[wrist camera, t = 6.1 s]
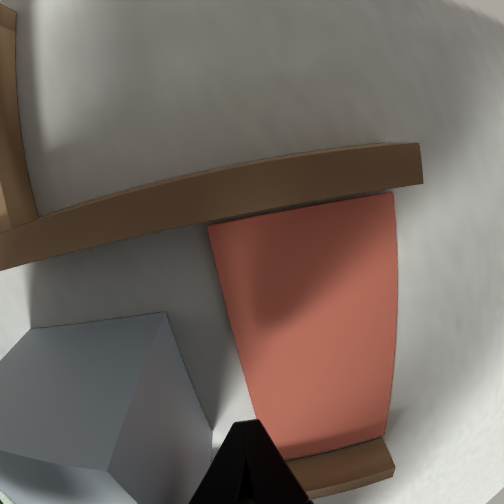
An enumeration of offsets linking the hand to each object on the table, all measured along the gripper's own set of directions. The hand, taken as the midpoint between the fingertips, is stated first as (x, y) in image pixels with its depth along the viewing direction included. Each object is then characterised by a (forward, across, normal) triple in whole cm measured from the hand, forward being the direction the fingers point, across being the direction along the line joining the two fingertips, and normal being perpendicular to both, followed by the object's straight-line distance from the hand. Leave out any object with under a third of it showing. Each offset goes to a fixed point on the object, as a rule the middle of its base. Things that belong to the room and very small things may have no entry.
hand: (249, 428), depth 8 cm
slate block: (+2, +5, 0) cm, 6 cm away
